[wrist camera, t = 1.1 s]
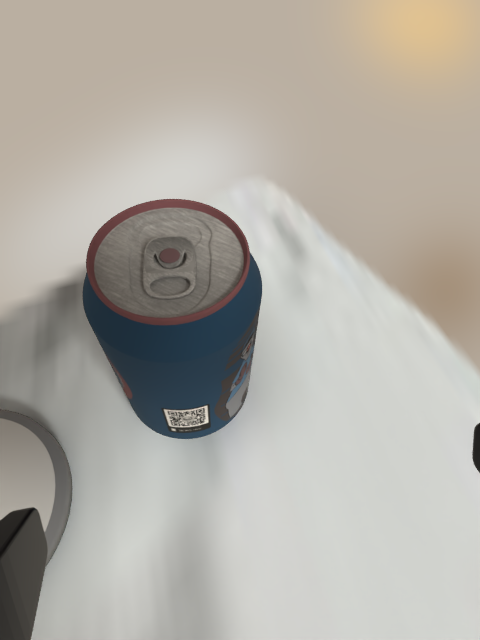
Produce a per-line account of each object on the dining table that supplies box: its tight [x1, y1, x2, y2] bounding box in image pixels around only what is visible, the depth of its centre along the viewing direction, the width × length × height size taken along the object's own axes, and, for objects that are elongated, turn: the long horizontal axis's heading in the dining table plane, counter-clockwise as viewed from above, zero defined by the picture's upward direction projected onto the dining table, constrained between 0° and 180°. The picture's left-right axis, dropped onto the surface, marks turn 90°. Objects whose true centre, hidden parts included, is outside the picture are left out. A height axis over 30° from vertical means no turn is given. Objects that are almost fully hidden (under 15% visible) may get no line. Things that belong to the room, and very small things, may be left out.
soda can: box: [83, 199, 262, 439], centre depth 19 cm, size 7×7×12 cm
